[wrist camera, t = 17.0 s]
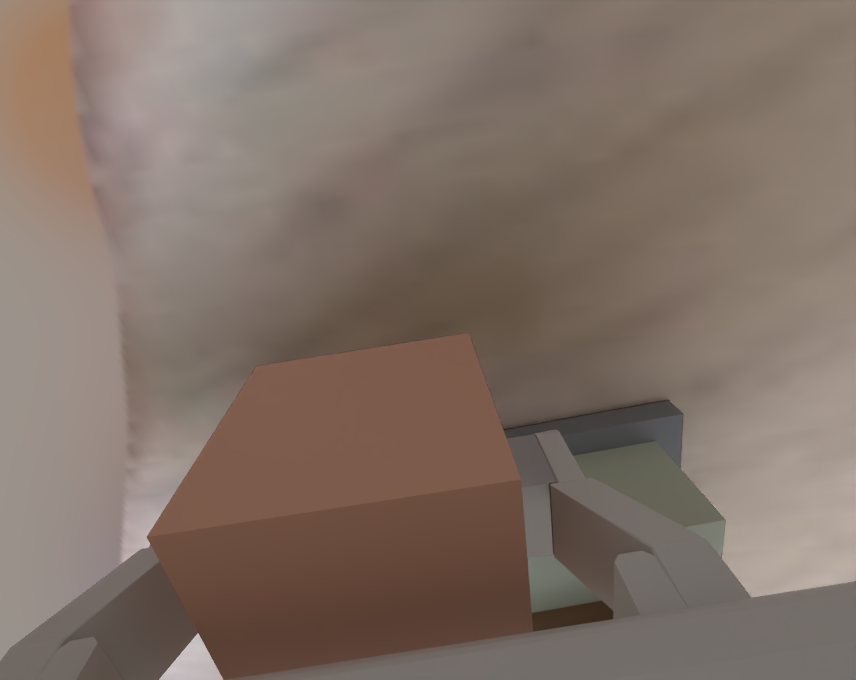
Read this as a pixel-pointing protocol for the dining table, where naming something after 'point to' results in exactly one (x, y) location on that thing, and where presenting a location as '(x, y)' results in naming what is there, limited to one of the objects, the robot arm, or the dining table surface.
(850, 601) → the robot arm
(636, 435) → the tower base
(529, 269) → the dining table surface
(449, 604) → the brick
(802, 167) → the dining table surface
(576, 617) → the brick
